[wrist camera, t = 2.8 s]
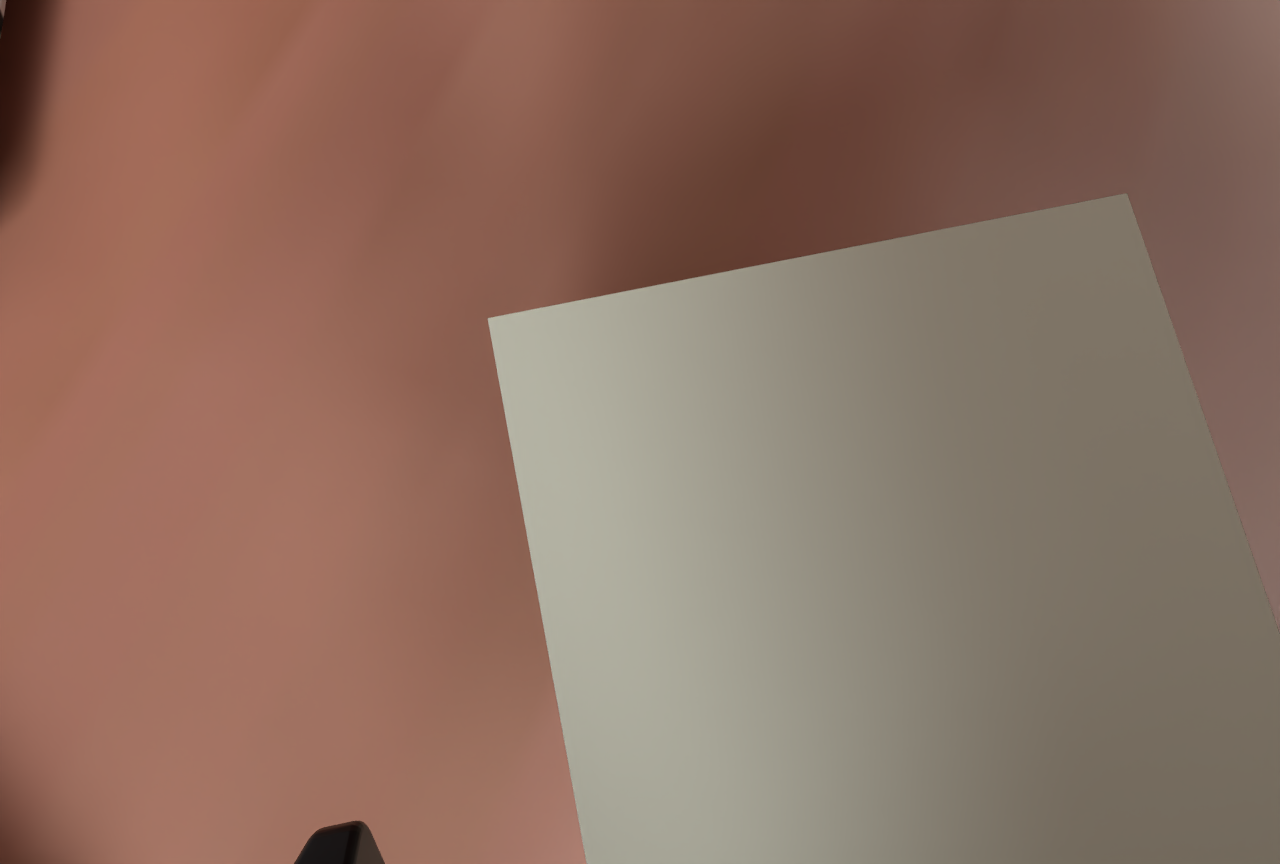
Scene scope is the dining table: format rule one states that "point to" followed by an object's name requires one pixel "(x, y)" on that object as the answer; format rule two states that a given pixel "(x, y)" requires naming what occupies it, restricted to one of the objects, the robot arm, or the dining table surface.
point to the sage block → (896, 560)
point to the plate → (2, 13)
